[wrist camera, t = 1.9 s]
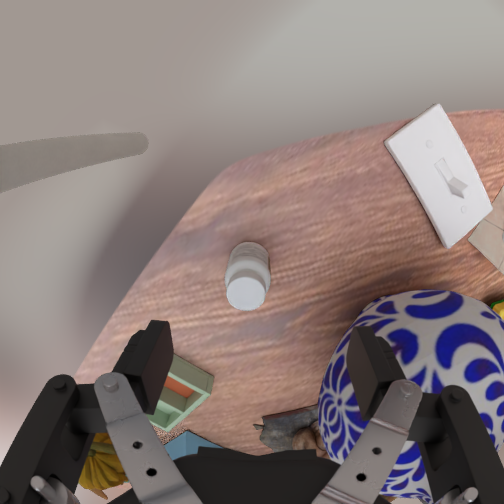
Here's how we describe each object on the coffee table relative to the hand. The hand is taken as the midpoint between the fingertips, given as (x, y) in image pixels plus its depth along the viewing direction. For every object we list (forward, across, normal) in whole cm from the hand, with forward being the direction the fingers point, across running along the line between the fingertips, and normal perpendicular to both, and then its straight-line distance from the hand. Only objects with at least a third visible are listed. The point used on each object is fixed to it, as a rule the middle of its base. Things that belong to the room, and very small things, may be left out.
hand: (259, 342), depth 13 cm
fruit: (+17, +32, +56) cm, 67 cm away
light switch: (+18, -25, 0) cm, 31 cm away
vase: (+20, -16, +13) cm, 29 cm away
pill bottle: (+21, +1, +5) cm, 21 cm away
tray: (+20, +13, +26) cm, 36 cm away
